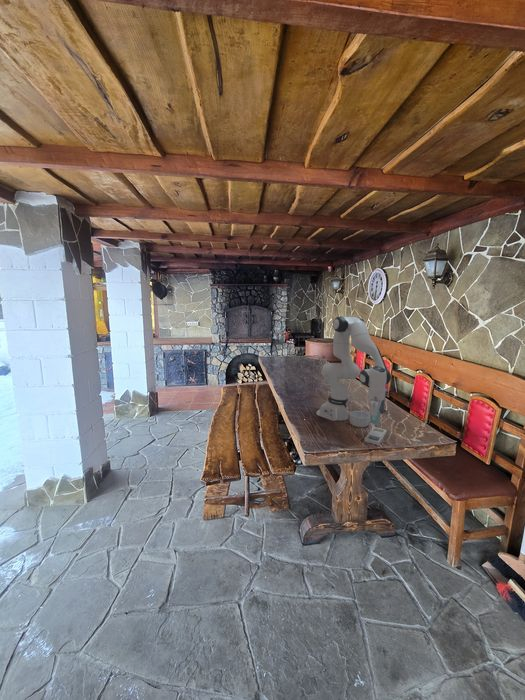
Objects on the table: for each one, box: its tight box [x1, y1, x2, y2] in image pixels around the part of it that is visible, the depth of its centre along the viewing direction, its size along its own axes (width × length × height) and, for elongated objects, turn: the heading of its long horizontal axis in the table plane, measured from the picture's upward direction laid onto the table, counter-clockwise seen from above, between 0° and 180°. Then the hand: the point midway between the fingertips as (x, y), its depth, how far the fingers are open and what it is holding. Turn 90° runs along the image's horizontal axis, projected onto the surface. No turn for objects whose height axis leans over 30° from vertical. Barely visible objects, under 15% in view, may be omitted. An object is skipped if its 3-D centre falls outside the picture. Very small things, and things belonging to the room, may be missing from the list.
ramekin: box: [348, 410, 370, 428], centre depth 187 cm, size 13×13×7 cm
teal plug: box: [369, 410, 381, 426], centre depth 162 cm, size 4×4×9 cm
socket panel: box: [363, 426, 388, 446], centre depth 169 cm, size 8×20×2 cm, turn 145°
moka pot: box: [379, 388, 390, 414], centre depth 211 cm, size 10×15×20 cm, turn 39°
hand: (374, 417), depth 162 cm, fingers closed on teal plug, 5 cm apart
